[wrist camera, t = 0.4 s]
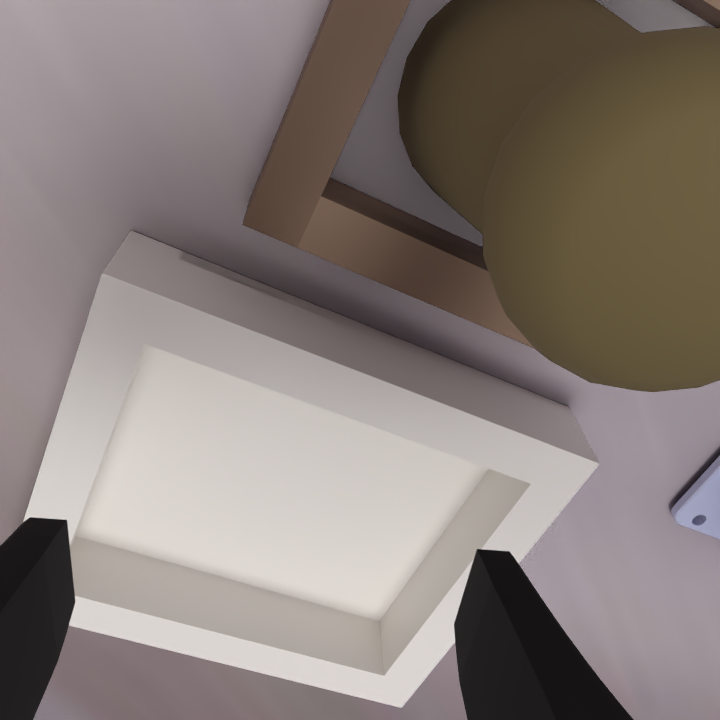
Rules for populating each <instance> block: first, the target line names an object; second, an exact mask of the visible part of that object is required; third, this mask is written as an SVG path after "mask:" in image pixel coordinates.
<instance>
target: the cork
mask: <svg viewBox="0 0 720 720" xmlns="http://www.w3.org/2000/svg"><path fill="white" fill-rule="evenodd" d="M398 110H399V128H400V135H401V138H402V140H403V143H404V145H405V148H406V151H407V153H408V156H409V158H410V161H411V164H412V166H413V167H414V168H415V170H416V171H417V172H418V173H419V174H420V176H421V177H422V178H423V179H424V180H425V182H426V183H427V184H428V185H429V186H430V188H431V189H432V190H433V191H434V192H435V193H436V194H437V195H438V196H440V197H441V198H442V199H443V200H444V201H445V202H446V203H448V204H449V205H450V206H451V207H452V208H453V209H454V210H456V211H457V212H458V213H459V214H460V215H461V216H462V217H464V218H465V219H466V220H467V221H468V222H469V223H470V224H472V225H473V226H474V227H475V228H476V229H477V230H478V231H480V232H481V233H482V234H483V257H484V260H485V263H486V265H487V268H488V271H489V274H490V277H491V280H492V282H493V285H494V288H495V291H496V294H497V296H498V299H499V301H500V303H501V306H502V308H503V310H504V312H505V314H506V316H507V317H508V318H509V319H510V321H511V322H512V323H513V324H514V325H515V326H516V327H517V329H518V330H519V331H520V332H521V333H522V334H523V336H524V337H525V338H526V339H527V340H528V341H529V343H530V344H531V345H532V346H533V347H534V348H535V349H536V350H537V351H538V352H540V353H541V354H542V355H544V356H545V357H546V358H548V359H549V360H550V361H552V362H554V363H555V364H557V365H559V366H561V367H563V368H565V369H566V370H568V371H570V372H572V373H574V374H576V375H578V376H579V377H581V378H583V379H585V380H587V381H589V382H591V383H597V384H602V385H608V386H614V387H619V388H625V389H631V390H637V391H648V392H658V391H668V390H678V389H688V388H698V387H701V386H704V385H707V384H710V383H713V382H716V381H718V380H720V28H713V27H707V26H702V27H693V28H683V29H673V30H663V31H653V32H644V33H640V32H639V31H638V30H636V29H635V28H633V27H632V26H631V25H629V24H628V23H626V22H625V21H624V20H622V19H621V18H619V17H618V16H617V15H615V14H614V13H612V12H611V11H610V10H608V9H607V8H605V7H604V6H603V5H601V4H600V3H598V2H597V1H596V0H451V1H450V2H449V3H448V4H447V5H446V6H445V7H443V8H442V9H441V10H440V11H439V12H438V13H437V14H436V15H435V16H434V17H433V18H432V19H431V20H430V21H428V23H427V24H426V26H425V28H424V29H423V31H422V33H421V35H420V36H419V38H418V40H417V42H416V43H415V45H414V47H413V48H412V50H411V52H410V54H409V55H408V57H407V60H406V64H405V68H404V72H403V76H402V81H401V85H400V89H399V93H398Z"/></svg>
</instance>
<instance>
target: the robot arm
mask: <svg viewBox="0 0 720 720" xmlns="http://www.w3.org/2000/svg"><path fill="white" fill-rule="evenodd" d="M671 515H672V517H673V518H674V520H675V521H676V523H678V524H679V525H682V526H685V527H687V528H690V529H693V530H696V531H698V532H701V533H704V534H706V535H709V536H712V537H714V538H717V539H720V456H719V457H718V458H717V459H716V460H715V461H714V462H713V463H712V464H711V466H710V467H709V468H708V469H707V470H706V471H705V472H704V473H703V474H702V475H701V477H700V478H699V479H698V480H697V481H696V482H695V483H694V484H693V485H692V486H691V487H690V489H689V490H688V491H687V492H686V493H685V494H684V495H683V496H682V497H681V498H680V500H679V501H678V502H677V503H676V504H675V505H674V506H673V508H672V509H671ZM698 515H699V516H698ZM696 516H697V517H696ZM694 517H695V518H694ZM74 605H75V593H74V583H73V573H72V563H71V554H70V544H69V534H68V524H67V520H62V519H48V518H34V517H30V518H28V519H27V520H26V521H24V522H23V523H22V524H21V525H20V526H19V527H18V528H17V529H16V530H15V531H14V532H13V533H12V535H11V536H10V537H9V538H8V539H7V540H6V541H5V542H4V543H3V544H2V545H1V546H0V720H33V718H34V716H35V713H36V711H37V709H38V707H39V704H40V702H41V699H42V697H43V695H44V692H45V690H46V688H47V685H48V683H49V681H50V678H51V676H52V674H53V671H54V669H55V666H56V664H57V661H58V659H59V655H60V652H61V649H62V646H63V643H64V639H65V636H66V633H67V629H68V626H69V622H70V619H71V616H72V612H73V609H74ZM454 631H455V643H456V654H457V663H458V672H459V681H460V686H461V691H462V696H463V700H464V705H465V710H466V714H467V719H468V720H633V719H632V717H631V716H630V715H629V714H628V713H627V711H626V710H625V709H624V708H623V707H622V706H621V704H620V703H619V702H618V701H617V699H616V698H615V697H614V696H613V694H612V693H611V692H610V691H609V689H608V688H607V687H606V686H605V685H604V683H603V682H602V681H601V680H600V678H599V677H598V676H597V674H596V673H595V672H594V670H593V669H592V668H591V667H590V665H589V664H588V663H587V661H586V660H585V659H584V657H583V656H582V655H581V653H580V652H579V650H578V649H577V648H576V646H575V645H574V644H573V642H572V641H571V640H570V638H569V637H568V636H567V634H566V633H565V631H564V630H563V629H562V627H561V626H560V624H559V623H558V622H557V620H556V619H555V617H554V616H553V614H552V613H551V611H550V610H549V609H548V607H547V606H546V604H545V603H544V601H543V600H542V598H541V597H540V595H539V594H538V592H537V591H536V589H535V588H534V586H533V585H532V583H531V582H530V580H529V579H528V577H527V576H526V574H525V573H524V571H523V570H522V568H521V567H520V565H519V564H518V562H517V561H516V559H515V558H514V556H513V555H512V554H511V553H510V551H498V550H484V549H477V550H476V554H475V557H474V560H473V563H472V567H471V570H470V573H469V576H468V580H467V583H466V586H465V590H464V593H463V596H462V599H461V603H460V606H459V609H458V613H457V616H456V619H455V622H454Z"/></svg>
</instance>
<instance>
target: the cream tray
mask: <svg viewBox="0 0 720 720" xmlns="http://www.w3.org/2000/svg"><path fill="white" fill-rule="evenodd" d="M599 464H600V463H599V461H598V459H597V458H596V456H595V454H594V452H593V450H592V448H591V447H590V445H589V443H588V441H587V439H586V437H585V436H584V434H583V432H582V430H581V428H580V426H579V425H578V423H577V421H576V419H575V417H574V415H573V414H572V412H571V410H570V408H569V407H567V406H565V405H562V404H560V403H558V402H555V401H553V400H550V399H548V398H545V397H543V396H540V395H538V394H535V393H533V392H530V391H528V390H525V389H523V388H520V387H518V386H515V385H513V384H510V383H508V382H506V381H503V380H501V379H498V378H496V377H493V376H491V375H488V374H486V373H483V372H481V371H478V370H476V369H473V368H471V367H468V366H466V365H463V364H461V363H458V362H456V361H453V360H451V359H449V358H446V357H444V356H441V355H439V354H436V353H434V352H431V351H429V350H426V349H424V348H421V347H419V346H416V345H414V344H411V343H409V342H406V341H404V340H401V339H399V338H397V337H394V336H392V335H389V334H387V333H384V332H382V331H379V330H377V329H374V328H372V327H369V326H367V325H364V324H362V323H359V322H357V321H354V320H352V319H349V318H347V317H344V316H342V315H340V314H337V313H335V312H332V311H330V310H327V309H325V308H322V307H320V306H317V305H315V304H312V303H310V302H307V301H305V300H302V299H300V298H297V297H295V296H292V295H290V294H288V293H285V292H283V291H280V290H278V289H275V288H273V287H270V286H268V285H265V284H263V283H260V282H258V281H255V280H253V279H250V278H248V277H245V276H243V275H240V274H238V273H235V272H233V271H231V270H228V269H226V268H223V267H221V266H218V265H216V264H213V263H211V262H208V261H206V260H203V259H201V258H198V257H196V256H193V255H191V254H188V253H186V252H183V251H181V250H179V249H176V248H174V247H171V246H169V245H166V244H164V243H161V242H159V241H156V240H154V239H151V238H149V237H146V236H144V235H141V234H139V233H136V232H134V231H130V233H129V234H128V235H127V237H126V238H125V240H124V241H123V243H122V244H121V246H120V247H119V249H118V250H117V252H116V253H115V255H114V256H113V257H112V259H111V260H110V262H109V263H108V265H107V266H106V268H105V269H104V271H103V272H102V274H101V277H100V281H99V284H98V287H97V290H96V293H95V296H94V300H93V303H92V306H91V309H90V312H89V315H88V319H87V322H86V325H85V328H84V331H83V334H82V338H81V341H80V344H79V347H78V350H77V353H76V356H75V360H74V363H73V366H72V369H71V372H70V375H69V379H68V382H67V385H66V388H65V391H64V394H63V398H62V401H61V404H60V407H59V410H58V413H57V417H56V420H55V423H54V426H53V429H52V432H51V435H50V439H49V442H48V445H47V448H46V451H45V454H44V458H43V461H42V464H41V467H40V470H39V473H38V477H37V480H36V483H35V486H34V489H33V492H32V496H31V499H30V502H29V505H28V508H27V511H26V515H25V518H24V521H26V520H27V519H28V518H30V517H34V518H48V519H62V520H67V524H68V534H69V544H70V554H71V563H72V573H73V583H74V593H75V605H74V609H73V612H72V616H71V619H70V622H69V626H73V627H77V628H81V629H85V630H90V631H94V632H98V633H102V634H106V635H110V636H114V637H118V638H122V639H126V640H130V641H134V642H138V643H142V644H146V645H150V646H154V647H158V648H162V649H166V650H170V651H174V652H178V653H182V654H186V655H190V656H194V657H198V658H203V659H207V660H211V661H215V662H219V663H223V664H227V665H231V666H235V667H239V668H243V669H247V670H251V671H255V672H259V673H263V674H267V675H271V676H275V677H279V678H283V679H287V680H291V681H295V682H299V683H303V684H307V685H311V686H315V687H320V688H324V689H328V690H332V691H336V692H340V693H344V694H348V695H352V696H356V697H360V698H364V699H368V700H372V701H376V702H380V703H384V704H388V705H392V706H396V707H400V708H402V707H403V705H404V704H405V703H406V702H407V700H408V699H409V698H410V697H411V696H412V694H413V693H414V692H415V691H416V689H417V688H418V687H419V686H420V685H421V683H422V682H423V681H424V680H425V678H426V677H427V676H428V675H429V673H430V672H431V671H432V670H433V669H434V667H435V666H436V665H437V664H438V662H439V661H440V660H441V659H442V657H443V656H444V655H445V654H446V653H447V651H448V650H449V649H450V648H451V646H452V645H453V644H454V643H455V631H454V622H455V619H456V616H457V613H458V609H459V606H460V603H461V599H462V596H463V593H464V590H465V586H466V583H467V580H468V576H469V573H470V570H471V567H472V563H473V560H474V557H475V554H476V550H477V549H484V550H498V551H510V553H511V554H512V555H513V556H514V558H515V559H516V561H517V562H518V564H519V563H520V562H521V560H522V559H523V558H524V557H525V555H526V554H527V553H528V552H529V550H530V549H531V548H532V547H533V546H534V544H535V543H536V542H537V541H538V539H539V538H540V537H541V536H542V534H543V533H544V532H545V531H546V530H547V528H548V527H549V526H550V525H551V523H552V522H553V521H554V520H555V518H556V517H557V516H558V515H559V514H560V512H561V511H562V510H563V509H564V507H565V506H566V505H567V504H568V502H569V501H570V500H571V499H572V498H573V496H574V495H575V494H576V493H577V491H578V490H579V489H580V488H581V486H582V485H583V484H584V483H585V482H586V480H587V479H588V478H589V477H590V475H591V474H592V473H593V472H594V470H595V469H596V468H597V467H598V466H599ZM24 521H23V522H24Z"/></svg>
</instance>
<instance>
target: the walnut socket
mask: <svg viewBox="0 0 720 720" xmlns="http://www.w3.org/2000/svg"><path fill="white" fill-rule="evenodd" d="M673 1H675V2H676V3H678V4H679V5H681V6H683V7H684V8H686V9H688V10H689V11H691V12H692V13H694V14H696V15H697V16H699V17H700V18H702V19H704V20H705V21H707V22H709V23H710V24H712V25H713V26H715V27H717V28H720V0H673ZM409 2H410V0H331V1H330V3H329V6H328V8H327V11H326V13H325V16H324V18H323V20H322V23H321V25H320V28H319V30H318V33H317V35H316V38H315V40H314V43H313V45H312V48H311V50H310V52H309V55H308V57H307V60H306V62H305V65H304V67H303V70H302V72H301V75H300V77H299V80H298V82H297V84H296V87H295V89H294V92H293V94H292V97H291V99H290V102H289V104H288V107H287V109H286V112H285V114H284V117H283V119H282V121H281V124H280V126H279V129H278V131H277V134H276V136H275V139H274V141H273V144H272V146H271V149H270V151H269V153H268V156H267V158H266V161H265V163H264V166H263V168H262V171H261V173H260V176H259V178H258V181H257V183H256V185H255V188H254V190H253V193H252V195H251V198H250V200H249V204H248V207H247V211H246V214H245V218H244V221H243V225H245V226H247V227H249V228H252V229H254V230H256V231H259V232H261V233H263V234H266V235H268V236H270V237H273V238H275V239H278V240H280V241H282V242H285V243H287V244H289V245H292V246H294V247H296V248H299V249H301V250H304V251H306V252H308V253H311V254H313V255H315V256H318V257H320V258H322V259H325V260H327V261H329V262H332V263H334V264H337V265H339V266H341V267H344V268H346V269H348V270H351V271H353V272H355V273H358V274H360V275H362V276H365V277H367V278H370V279H372V280H374V281H377V282H379V283H381V284H384V285H386V286H388V287H391V288H393V289H396V290H398V291H400V292H403V293H405V294H407V295H410V296H412V297H414V298H417V299H419V300H421V301H424V302H426V303H429V304H431V305H433V306H436V307H438V308H440V309H443V310H445V311H447V312H450V313H452V314H455V315H457V316H459V317H462V318H464V319H466V320H469V321H471V322H473V323H476V324H478V325H480V326H483V327H485V328H488V329H490V330H492V331H495V332H497V333H499V334H502V335H504V336H506V337H509V338H511V339H514V340H516V341H518V342H521V343H523V344H525V345H528V346H530V347H532V348H534V347H533V346H532V345H531V344H530V343H529V341H528V340H527V339H526V338H525V337H524V336H523V334H522V333H521V332H520V331H519V330H518V329H517V327H516V326H515V325H514V324H513V323H512V322H511V321H510V319H509V318H508V317H507V316H506V314H505V312H504V310H503V308H502V306H501V303H500V301H499V299H498V296H497V294H496V291H495V288H494V285H493V282H492V280H491V277H490V274H489V271H488V268H487V265H486V263H485V260H484V257H483V248H482V247H480V246H477V245H475V244H473V243H471V242H469V241H466V240H464V239H462V238H460V237H458V236H456V235H453V234H451V233H449V232H447V231H445V230H442V229H440V228H438V227H436V226H434V225H431V224H429V223H427V222H425V221H423V220H421V219H418V218H416V217H414V216H412V215H410V214H407V213H405V212H403V211H401V210H399V209H397V208H394V207H392V206H390V205H388V204H386V203H383V202H381V201H379V200H377V199H375V198H373V197H370V196H368V195H366V194H364V193H362V192H359V191H357V190H355V189H353V188H351V187H349V186H346V185H344V184H342V183H340V182H338V181H335V180H333V179H331V178H329V177H330V175H331V173H332V171H333V169H334V166H335V164H336V162H337V160H338V158H339V155H340V153H341V151H342V149H343V147H344V145H345V142H346V140H347V138H348V136H349V134H350V131H351V129H352V127H353V125H354V123H355V120H356V118H357V116H358V114H359V112H360V109H361V107H362V105H363V103H364V101H365V98H366V96H367V94H368V92H369V90H370V88H371V85H372V83H373V81H374V79H375V77H376V74H377V72H378V70H379V68H380V66H381V63H382V61H383V59H384V57H385V55H386V52H387V50H388V48H389V46H390V44H391V41H392V39H393V37H394V35H395V33H396V31H397V28H398V26H399V24H400V22H401V20H402V17H403V15H404V13H405V11H406V9H407V6H408V4H409Z"/></svg>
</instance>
